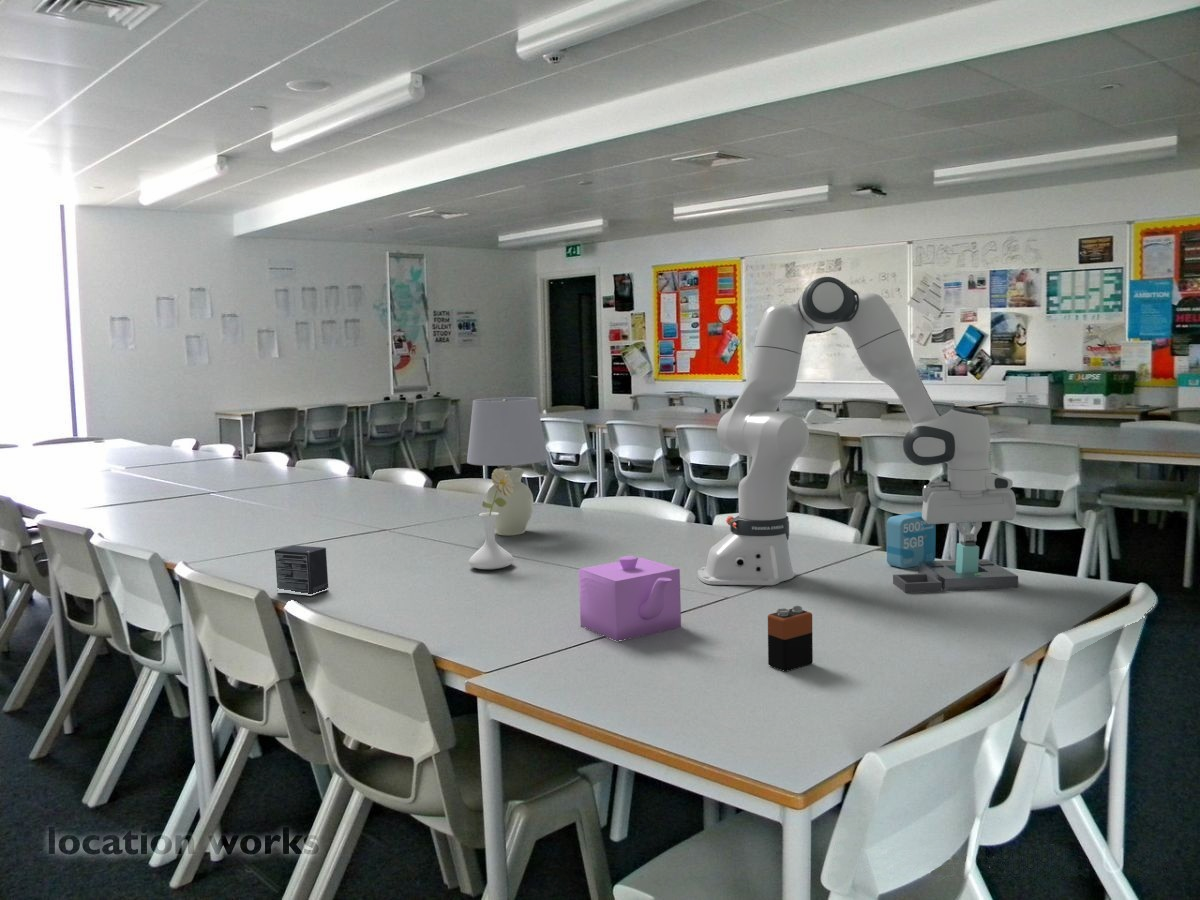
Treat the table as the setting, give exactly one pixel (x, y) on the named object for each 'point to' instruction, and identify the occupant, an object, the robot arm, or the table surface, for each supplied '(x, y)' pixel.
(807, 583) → the table surface
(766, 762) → the table surface
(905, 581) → the tray
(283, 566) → the small box
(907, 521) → the data package
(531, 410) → the lamp
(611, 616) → the teapot
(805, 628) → the battery
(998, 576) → the panel
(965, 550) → the aqua plug
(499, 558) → the flower in vase
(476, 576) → the table surface
